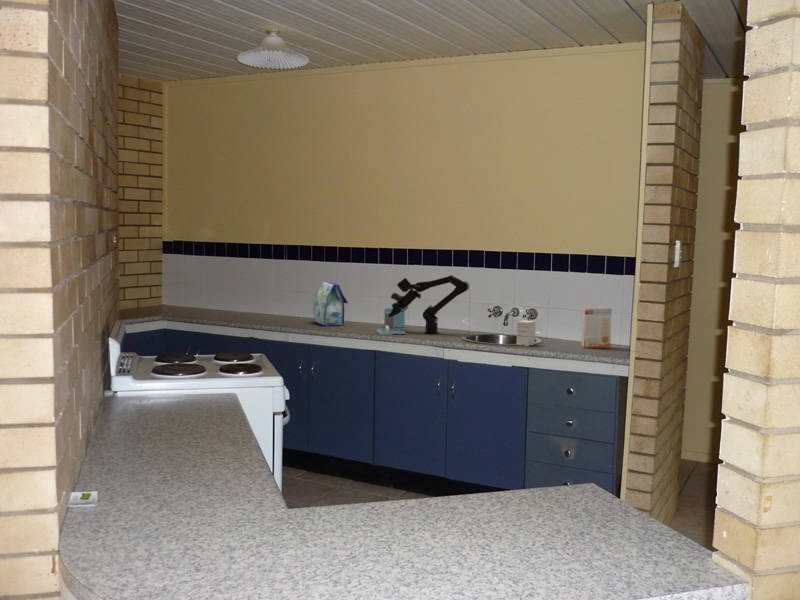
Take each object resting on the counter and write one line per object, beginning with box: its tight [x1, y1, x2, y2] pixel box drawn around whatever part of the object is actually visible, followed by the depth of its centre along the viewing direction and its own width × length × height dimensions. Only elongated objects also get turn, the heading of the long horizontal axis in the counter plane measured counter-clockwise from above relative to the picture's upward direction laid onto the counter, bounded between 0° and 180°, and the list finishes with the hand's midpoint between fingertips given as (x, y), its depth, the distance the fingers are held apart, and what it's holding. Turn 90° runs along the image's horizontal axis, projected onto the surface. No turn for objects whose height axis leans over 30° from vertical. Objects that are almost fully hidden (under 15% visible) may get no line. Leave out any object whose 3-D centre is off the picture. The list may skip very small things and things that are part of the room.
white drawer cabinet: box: [516, 319, 536, 347], centre depth 418 cm, size 7×7×13 cm
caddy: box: [376, 326, 406, 336], centre depth 452 cm, size 14×11×4 cm
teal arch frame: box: [383, 306, 406, 328], centre depth 483 cm, size 12×4×12 cm, turn 96°
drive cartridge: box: [384, 312, 396, 329], centre depth 464 cm, size 5×5×10 cm
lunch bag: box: [313, 281, 348, 327], centre depth 492 cm, size 22×17×26 cm
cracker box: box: [581, 306, 613, 349], centre depth 413 cm, size 14×6×21 cm, turn 92°
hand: (390, 316), depth 464 cm, fingers closed on drive cartridge, 5 cm apart
